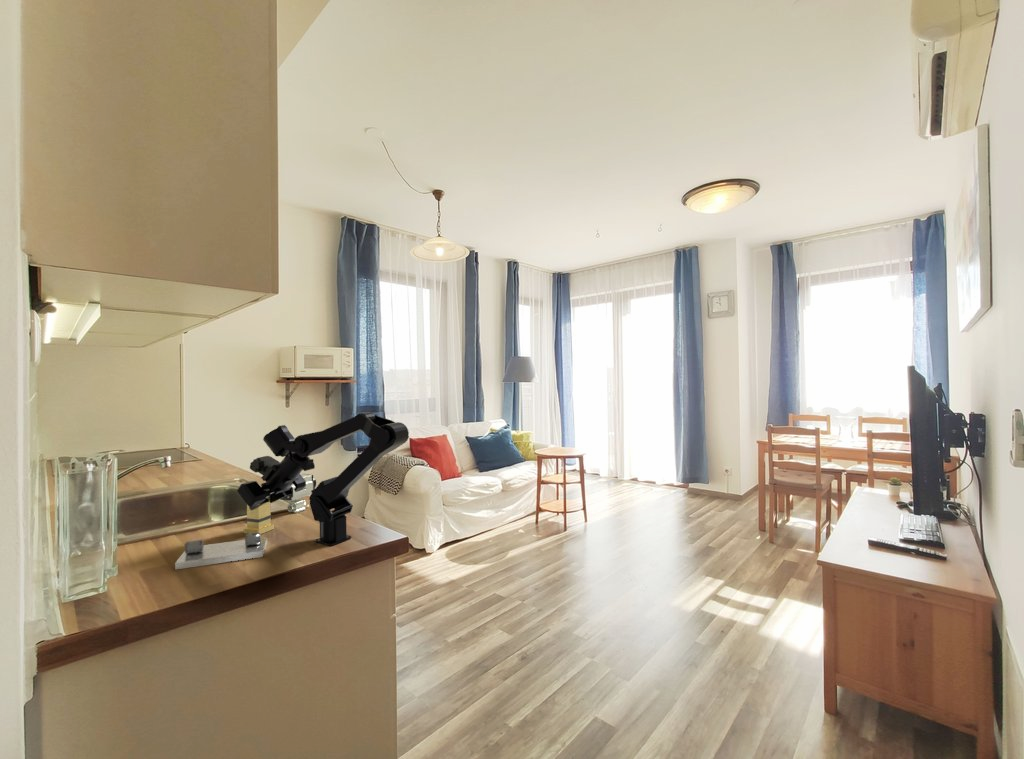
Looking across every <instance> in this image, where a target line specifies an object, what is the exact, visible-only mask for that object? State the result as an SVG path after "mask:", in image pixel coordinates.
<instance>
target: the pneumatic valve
mask: <svg viewBox="0 0 1024 759" xmlns="http://www.w3.org/2000/svg"><path fill="white" fill-rule="evenodd" d="M300 475H301V476H302V477H303V478H304V480H305V481H306V486H305V487H304V489H303V490H301V491H298V492H295V490H294V489H295V488H296V487H295V485H294V484H292V485H291V488H290V490H291V491H292V494H291V495H288V496H286V497H284V498H281V499H280V500H283V501H288V503H287V504H288V505H287V506H286V507H287V508H286V509H287V511H288V512H289V513H295V514H297V513H301V512H304V511H305V510H306V505H307V502H306V499H304V497H307V496H310V495H311V494H312V493H313V492H311V491H312V490H314V489H315V488H316V487H317V479H316V478H315V477H314V474H309V473H307V474H306V473H300ZM303 510H304V511H303Z"/></svg>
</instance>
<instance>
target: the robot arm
mask: <svg viewBox="0 0 1024 759" xmlns="http://www.w3.org/2000/svg"><path fill="white" fill-rule="evenodd" d="M359 432H363V433H364V435H366V437H368V438H370V439H369V442H368V443H369V444H368V445H367V447H366V448H364V449H363V451H362V452H361V453H359V455H357V457H356V458H355V459H353V461H352V462H351V463H350V464H349V465H347V467H345V469H343V471H342V472H341V473H339V474H338V475H337V476H334V477H331V478H328V479H325V480H324V479H323V480H322V481H320V482H319V483H318V485H316V487H315V489H314V490H312V491H311V492H313V493H312V494H311V495H309V498H308V500H309V505H310V511H311V512H312V516H313V520H314V521H316V522H318V523H319V538H315V539H314V542H316V543H319V544H324V545H327V546H335V545H337V544H339V543H342V542H345V541H348V540H350V539H351V538H352V535H350V534H349V535H348V534H347V532H348V531H347V514H350V513H352V509H353V507H354V506H353V504H352V502H351V501H350V500H349V499H348V498H347V497H348V495H349V492H350V489H351V488H352V487H353V486H354V485H355V484H356V483H357V482H358V481H360V479H361V478H362V477H363V476H364V475H365V474H366V473H368V471H370V470H371V468H373V467H374V466H375V464H376V463H378V462H379V461H380V460H381V459H382V458H383V456H386V455H387V454H389V453H391V452H392V451H394V450H396V449H397V448H399V447H401V446H403V445H404V444H405V443H406V442H407V441H408V440H409V437H410V436H409V433H410V432H409V429H408V427H407V426H406V424H404V423H403V422H399V421H398V422H397V421H394V420H391V419H388V418H385V417H382V416H379V415H377V414H375V413H373V412H372V411H368V412H361V413H358V414H356V415H355V416H353V417H350V418H348V419H346V420H344V421H341V422H339V423H337V424H335V425H332V426H330V427H328V428H325V429H323V430H319V431H316V432H315V431H314V432H310V433H305V434H300V435H297V436H296V437H294V436H293V435H292V433H291V432H290V430H289V428H288V427H287V426H286V425H285V424H282V425H278V426H277V428H274V429H272V430H271V431H270V432H268V433H266V434H265V435H264V436H263V439H262V440H263V442H264V443H265V444H266V446H267V447H268V448H269V450H270V451H271V452H272V453H273V454H274V456H275V457H282V458H283V459H282V460H281V461H278V460H277V459H275V458H273V457H272V456H270V455H265V456H264V455H263V456H261V457H260V456H259V457H256V458H254V459H253V461H252V462H250V465H249V470H251V471H252V472H254V473H256V474H257V473H258V474H259V475H262V476H261V477H260V478H261V480H262V481H263V482H262V483H261V484H259V483H258V482H257V480H250V481H246V482H243V483H241V484H240V485H239V486H238V487H237V489H236V491H237V493H238V494H239V495H240V497H241V498H242V499H243V501H244V502H245V504H246V506H247V505H248V506H249V509H250V510H254V509H256V508H258V507H260V506H262V505H263V504H265V503H267V502H269V500H268V499H267V497H269V496H270V504H272V503H275V502H278V501H279V500H281V498H284V497H286V496H288V495H291V494H292V491H291V490H290V488H291V485H292V484H294V485H295V487H296V488H295V489H294V490H295V492H298V491H301V490H303V489H304V487H305V486H306V481H305V480H304V478H303V477H302V476H301V475H300V474H301V473H302V471H304V472H306V471H309V470H315V463H314V459H311V458H310V456H314V455H318V454H321V453H323V452H325V451H326V450H327V449H329V448H330V447H331V446H332V445H333V444H334V443H336V442H338V441H340V440H342V439H345V438H347V437H350V436H352V435H354V434H357V433H359Z"/></svg>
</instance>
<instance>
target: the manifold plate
mask: <svg viewBox="0 0 1024 759" xmlns="http://www.w3.org/2000/svg"><path fill="white" fill-rule="evenodd" d="M204 542H205V541H204V539H199V540H198V539H197V540H191V541H189V540H188V541H186V543H185V545H184V546H185V547H184V551H183V553H182V554H181V555H180V556H179V557H178V559H177V560H176V561H175V564H174V568H175V570H182V569H188V568H195V567H203V566H210V565H215V564H216V565H217V564H223V563H231V561H232V562H237V561H238V560H239V561H245V559H246V560H252V558H253V559H259V558H263V557H264V554H265V550H266V548H267V545H268V536H263V537H262V534H261V533H253V534H247V533H245V539H242V540H241V539H240V540H234V541H225V542H218V543H210V544H204Z"/></svg>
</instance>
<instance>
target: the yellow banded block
mask: <svg viewBox="0 0 1024 759" xmlns="http://www.w3.org/2000/svg"><path fill="white" fill-rule="evenodd" d="M267 499H268V500H269V502H267V503H265V504H263V505H262V506H260V507H258V508H256V509H254V510H250V509H249V506H248V505H247V504H246V527H244V528H243V534H253V533H261V535H262V534H264V533H267V532H270V531H272V530H274V529H275V524H274V523H271V521H272V520H271V519H272V514H271V503H270V496H269V497H267Z"/></svg>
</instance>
